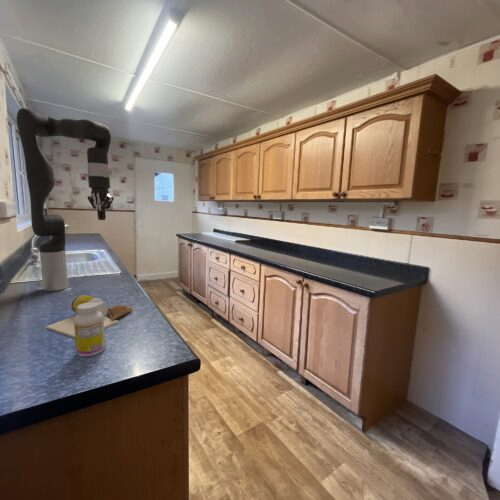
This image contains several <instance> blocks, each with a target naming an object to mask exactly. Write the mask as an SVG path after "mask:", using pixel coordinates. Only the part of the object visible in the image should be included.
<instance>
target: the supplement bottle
mask: <svg viewBox="0 0 500 500" xmlns="http://www.w3.org/2000/svg"><path fill="white" fill-rule="evenodd" d="M77 312H78V313H79V314H78V313H77V316H76V315H75V316H76V317H75V318H74V329H75V338H74V339H75V346H76V354H77V355H78V356H80V357H93V356H96V355H98V354H101V353H102V352H103V351H104V350H105V348H106V336H105V335H106V333H105V329H104V320H103V317H104V316H103V314H102V313H101V312H99V311H98V303H96V302H88V303H83V304H80V305H78V306H77Z"/></svg>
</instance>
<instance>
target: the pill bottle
mask: <svg viewBox="0 0 500 500" xmlns="http://www.w3.org/2000/svg"><path fill="white" fill-rule="evenodd" d="M88 302H96V303H98V311H99V312H101V313H102V314H103V317H105V315H106V314H108V312H107V311H108V309H109V305H108V304H107V302H106V303H105V302H104V301H103V300H102V299H101V298H98V297H94V296H91V295H86V294H80V295H77V296H75V297H74V298H73V299H72V301H71V304H70V307H71V311H73V313H75V314H77V315H78V314H79V313H78V312H77V306H78V305H80V304H83V303H88Z"/></svg>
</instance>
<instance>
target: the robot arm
mask: <svg viewBox="0 0 500 500" xmlns="http://www.w3.org/2000/svg"><path fill="white" fill-rule="evenodd" d="M16 125H17V130H18V134H19V138H20V142H21V147H22V151H23V156H24V164H25V175H26V179H27V186H28V193H29V200H30V201H29V202H30V216H31V217H30V219H31V220H30V222H31V227H32V231H33V233H34V235H35V236H36V237H51V238H50V240H48V241H46V242H44V243H42V244H40V245H39V257H40V266H41V267H40V271H41V272H40V273H41V281H42V289H43V291H44V292H45V291H46V292H56V291H61V290H66V289H67V288H69V285H70V284H69V278H68V277H69V275H68V266H67V265H68V264H67V255H66V243H67V242H66V224H65V220H64V218H63V216H62V215H61V214H56V213H55V214H44V206H45V203H46V200H47V199H48V197H49V195H51V192H52V191H53V188H54V187H55V182H56V181H55V175H54V169H53V166H52V164H51V162H50V161H49V160H48V159H47V157H46V155H45V154H44V152H43V151H42V149H41V148H40V146H39V143H38V140H37V137H42V138H47V137H65V138H70V139H76V140H87V141H92V142H95V144H94V146H92V147H88V148H87V150H86V157H87V182H88V187H89V188H90V189H91V191H90V195H88V196H87V200H88V201H89V203H90V206H92V209H95V210H96V212H97V214H96V215H97V220H98V221H106V218H107V217H106V211H107V210H110V208H111V205H112V204H113V201H114V199H115V198H114V196H111V195H110V191H109V189H110V188H111V178H110V167H109V161H108V159H109V157H108V154H109V150H110V146H111V145H110V144H111V140H112V134H111V131H110V129H109V127H108V126H107V125H105V124H103V123H100V122H97V121H94V120H91V119H83V118H82V119H74V118H73V119H72V118H61V119H55V118H52V117H50V116H48V115H45V114H43V113H41V112H37V111H34V110H31V109H29V108H20V109H18V111H17V112H16Z"/></svg>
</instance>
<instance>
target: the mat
mask: <svg viewBox="0 0 500 500" xmlns="http://www.w3.org/2000/svg"><path fill="white" fill-rule="evenodd" d="M77 315H78V314H77ZM77 315H74V316H72V317H68V318H66V319H63V320H61V321H57V322H54V323H52V324H48V325H46V326H45V327H46V329H47V330H50V331H52V332H56V333H60V334H62V335H65V336H68V337H70V338H74V339H75V329H74V318H75V317H76V316H77ZM103 320H104V330H105V329H108V328H110V327H111V326H114V325H116V324H118V323H119V320H117V319H114V320H112V319H111V317H106V316H103Z"/></svg>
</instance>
